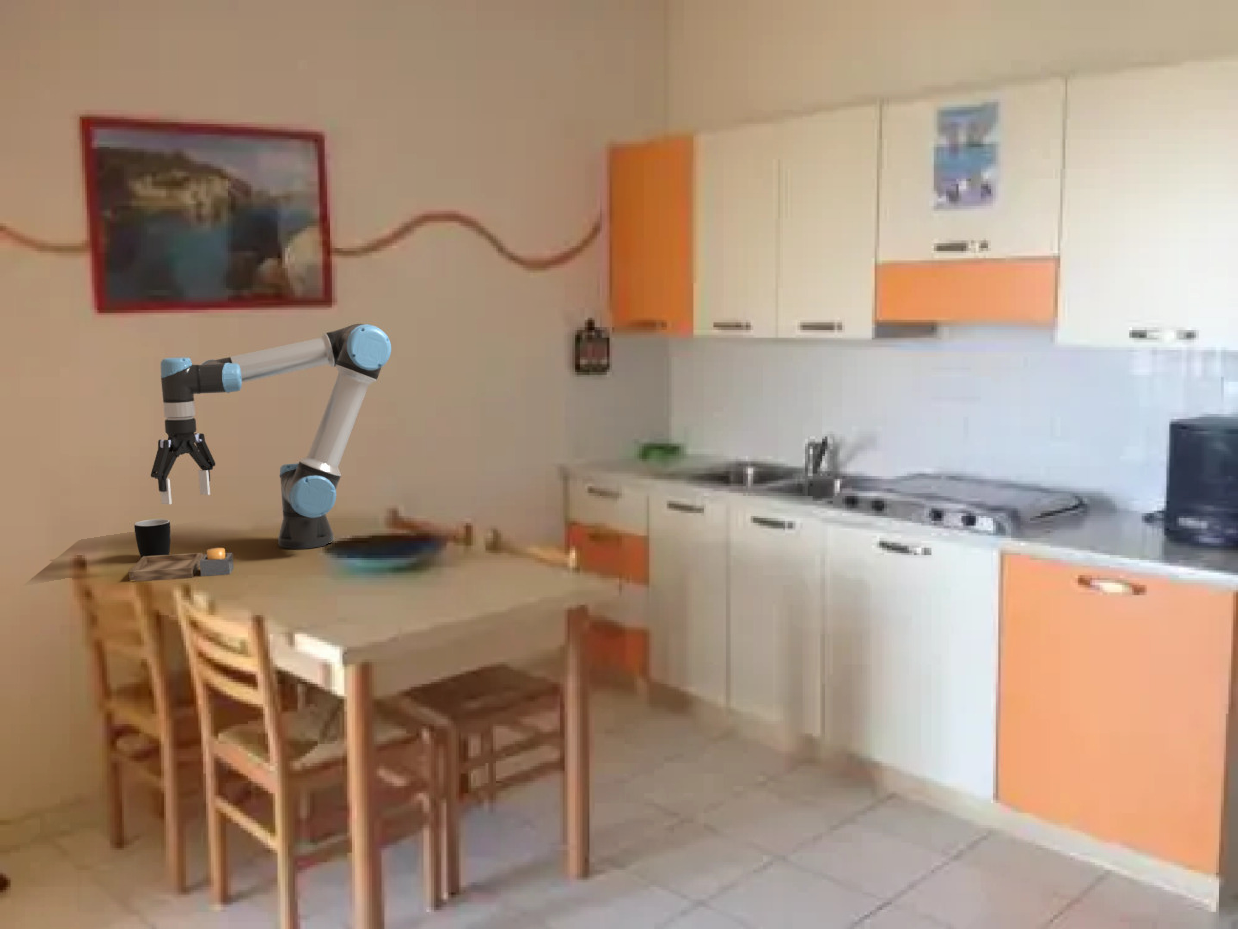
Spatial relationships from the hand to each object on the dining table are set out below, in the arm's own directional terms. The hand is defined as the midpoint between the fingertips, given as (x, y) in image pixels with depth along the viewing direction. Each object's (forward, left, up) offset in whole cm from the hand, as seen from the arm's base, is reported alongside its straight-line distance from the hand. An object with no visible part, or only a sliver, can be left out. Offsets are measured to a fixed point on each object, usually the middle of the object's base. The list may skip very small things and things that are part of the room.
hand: (186, 499), depth 314 cm
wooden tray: (+5, +4, -18) cm, 19 cm away
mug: (+12, -13, -18) cm, 26 cm away
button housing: (-8, +8, -18) cm, 21 cm away
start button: (-8, +8, -17) cm, 20 cm away
